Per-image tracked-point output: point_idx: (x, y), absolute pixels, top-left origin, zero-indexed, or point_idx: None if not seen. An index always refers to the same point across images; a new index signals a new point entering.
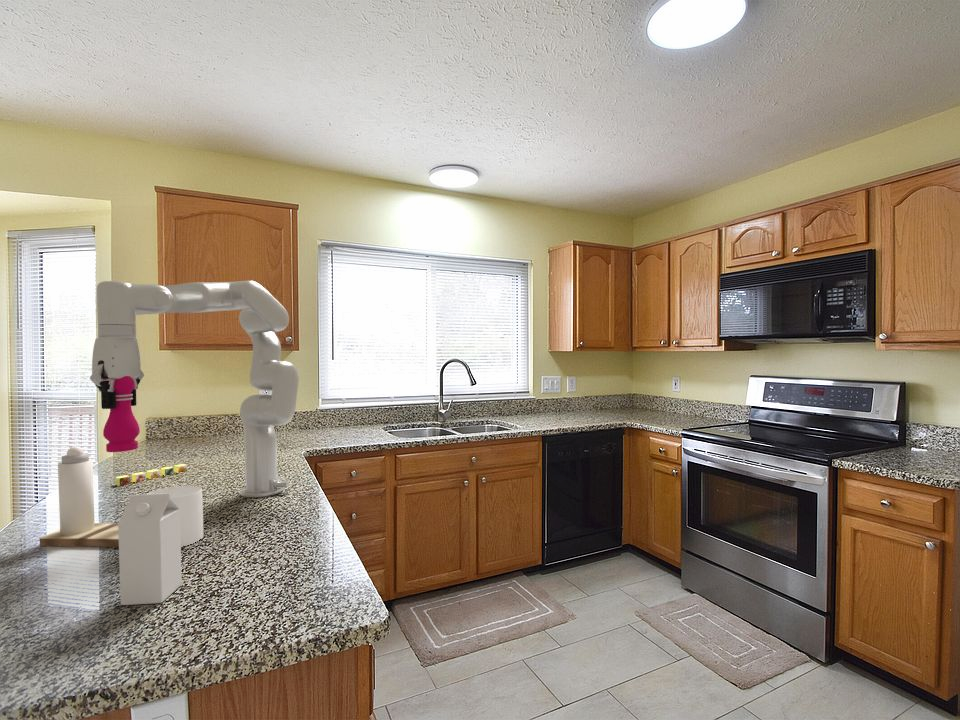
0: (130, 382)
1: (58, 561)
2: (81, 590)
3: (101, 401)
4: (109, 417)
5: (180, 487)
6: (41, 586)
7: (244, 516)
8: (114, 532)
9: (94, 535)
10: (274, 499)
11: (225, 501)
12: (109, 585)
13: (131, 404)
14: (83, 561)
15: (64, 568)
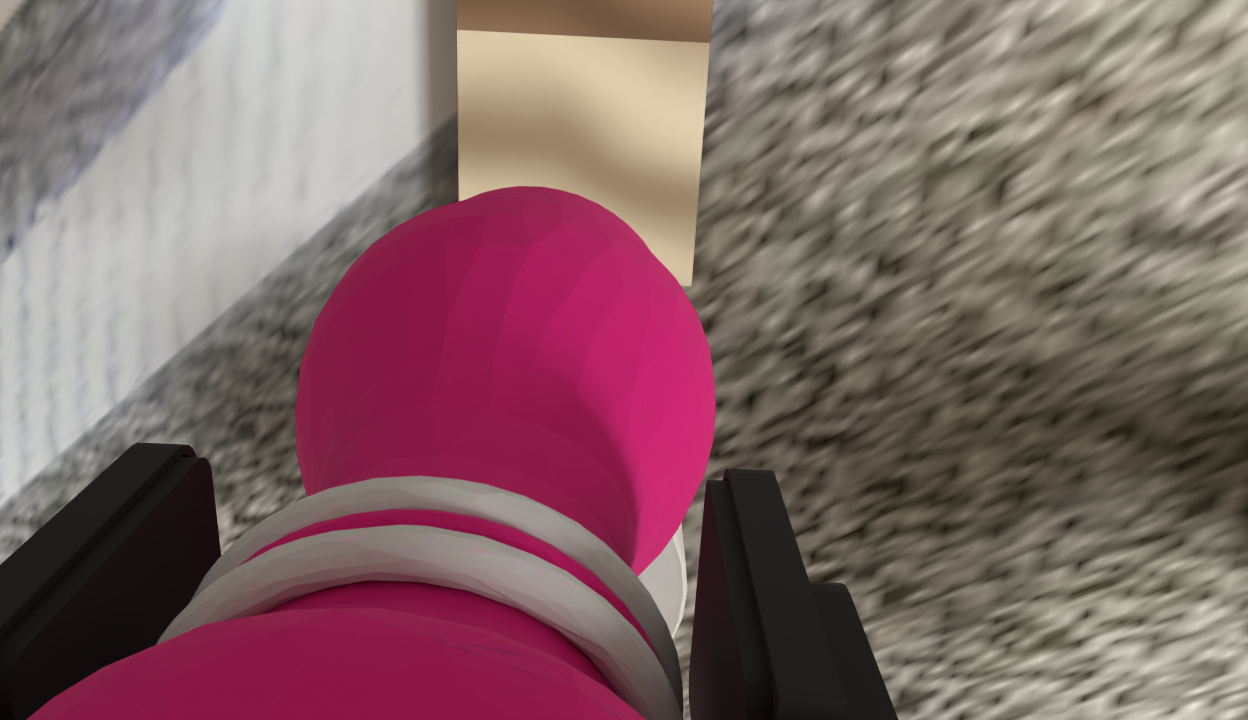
0: None
1: (270, 34)
2: (32, 398)
3: (64, 510)
4: (335, 413)
5: (671, 541)
6: (26, 200)
7: (899, 588)
8: (551, 128)
9: (501, 39)
10: (1197, 613)
11: (1228, 351)
12: (90, 472)
13: (691, 658)
14: (285, 171)
15: (201, 143)
